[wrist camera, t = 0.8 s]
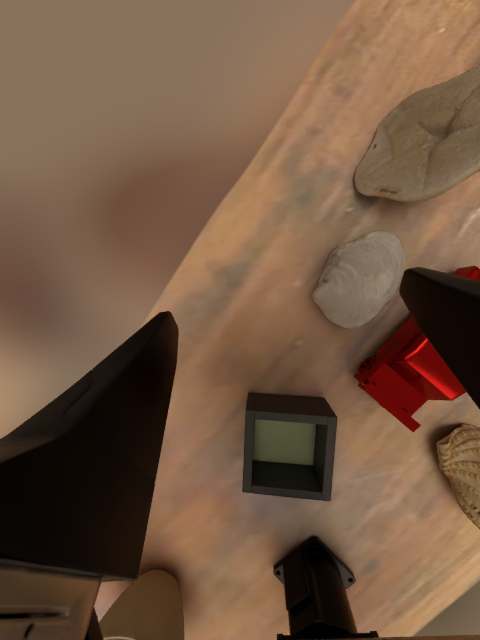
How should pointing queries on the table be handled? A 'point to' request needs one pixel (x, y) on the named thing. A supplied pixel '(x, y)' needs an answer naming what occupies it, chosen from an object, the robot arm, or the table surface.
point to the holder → (289, 446)
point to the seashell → (463, 468)
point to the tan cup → (146, 610)
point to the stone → (425, 143)
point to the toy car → (410, 370)
